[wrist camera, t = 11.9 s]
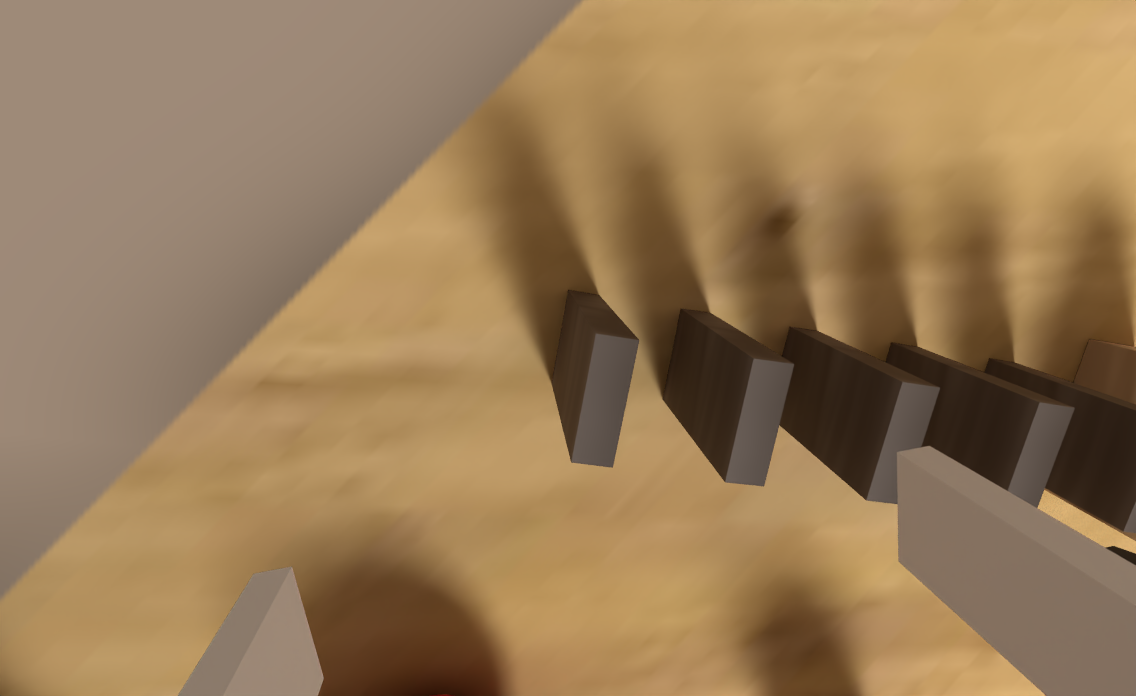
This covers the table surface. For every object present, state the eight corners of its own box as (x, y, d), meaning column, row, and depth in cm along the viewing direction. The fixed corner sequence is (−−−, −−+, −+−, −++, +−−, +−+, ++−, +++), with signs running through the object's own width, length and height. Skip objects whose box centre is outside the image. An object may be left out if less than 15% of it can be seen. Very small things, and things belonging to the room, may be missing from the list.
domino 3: (767, 414, 35) (866, 500, 26) (789, 326, 34) (902, 381, 25) (794, 418, 36) (902, 504, 26) (817, 331, 34) (940, 387, 25)
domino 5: (961, 441, 37) (1123, 531, 27) (989, 358, 36) (1168, 422, 26) (986, 444, 37) (1155, 535, 28) (1014, 362, 36) (1201, 426, 26)
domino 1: (551, 383, 34) (571, 462, 24) (568, 290, 33) (596, 333, 23) (581, 387, 34) (612, 467, 24) (599, 294, 33) (639, 340, 23)
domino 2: (662, 399, 34) (725, 482, 25) (680, 308, 33) (753, 358, 24) (691, 402, 35) (764, 486, 25) (710, 312, 34) (794, 364, 24)
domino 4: (865, 427, 36) (998, 516, 26) (891, 342, 35) (1039, 402, 25) (891, 431, 36) (1032, 520, 27) (918, 346, 35) (1074, 407, 26)
